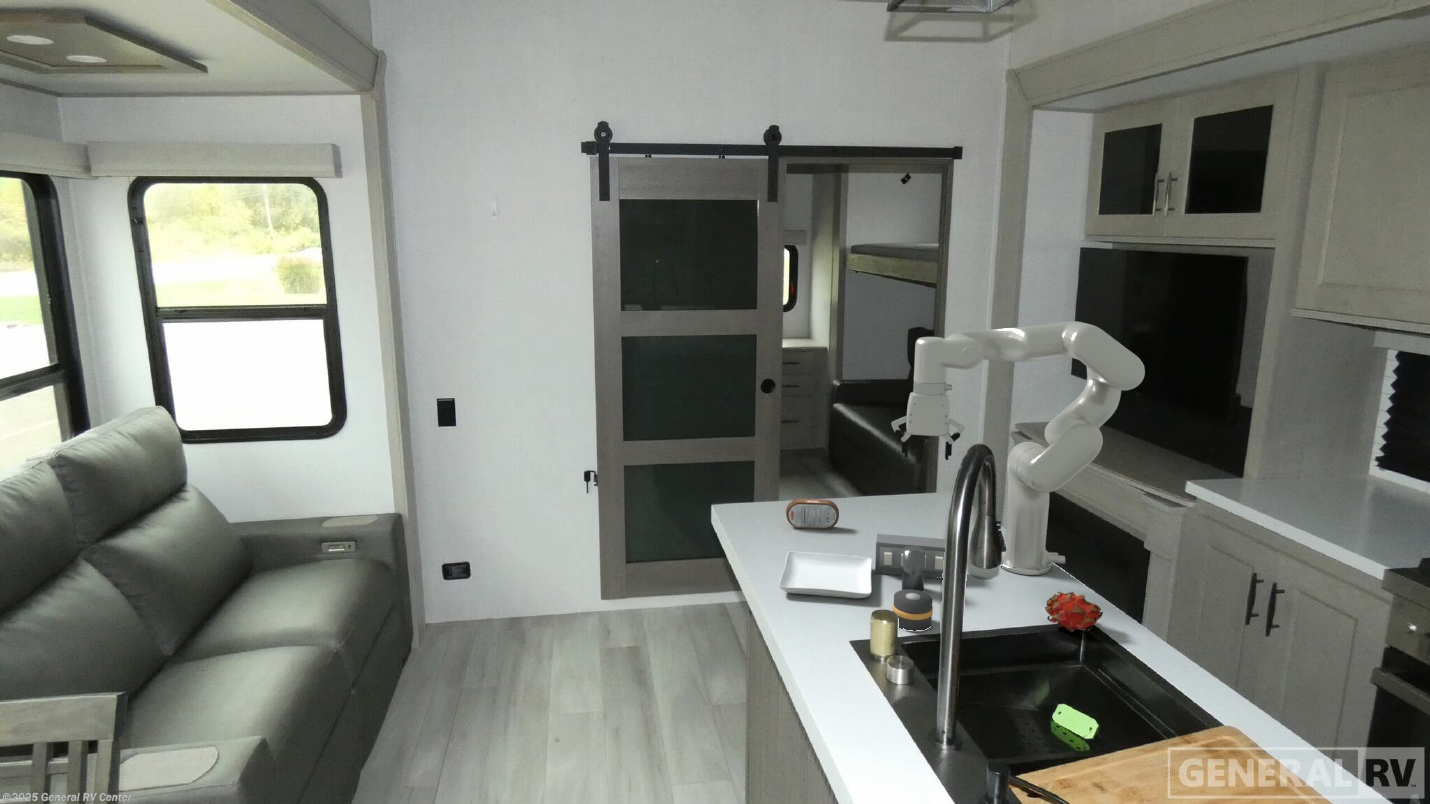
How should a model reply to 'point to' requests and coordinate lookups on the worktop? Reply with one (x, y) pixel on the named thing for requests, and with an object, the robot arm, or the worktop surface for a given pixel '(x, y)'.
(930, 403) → the robot arm
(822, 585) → the salad plate
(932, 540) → the breaker panel
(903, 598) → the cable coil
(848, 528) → the worktop surface
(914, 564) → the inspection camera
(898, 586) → the worktop surface
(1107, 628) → the worktop surface
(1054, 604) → the dragon fruit
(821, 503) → the tin
